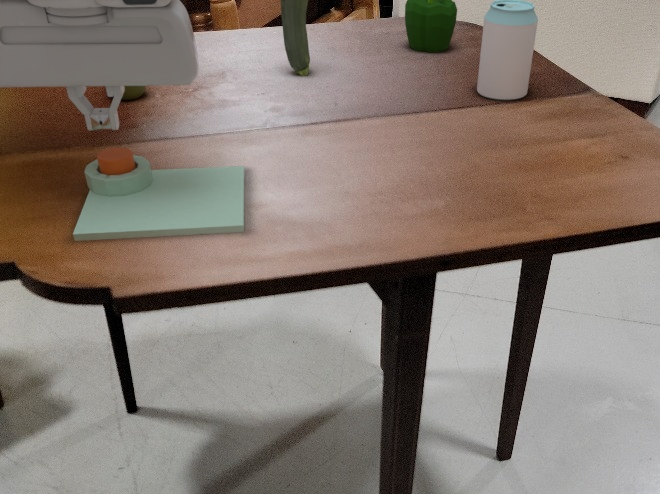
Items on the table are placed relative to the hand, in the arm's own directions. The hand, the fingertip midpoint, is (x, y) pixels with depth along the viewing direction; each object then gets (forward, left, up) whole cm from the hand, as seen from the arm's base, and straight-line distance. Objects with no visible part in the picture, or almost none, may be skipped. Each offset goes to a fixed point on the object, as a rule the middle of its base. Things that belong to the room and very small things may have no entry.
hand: (104, 128), depth 74 cm
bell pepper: (+44, +49, -7) cm, 66 cm away
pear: (-2, +30, -7) cm, 31 cm away
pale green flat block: (+6, -4, -7) cm, 10 cm away
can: (+50, +26, -7) cm, 56 cm away
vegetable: (+22, +38, -7) cm, 44 cm away
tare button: (+1, 0, -4) cm, 5 cm away
